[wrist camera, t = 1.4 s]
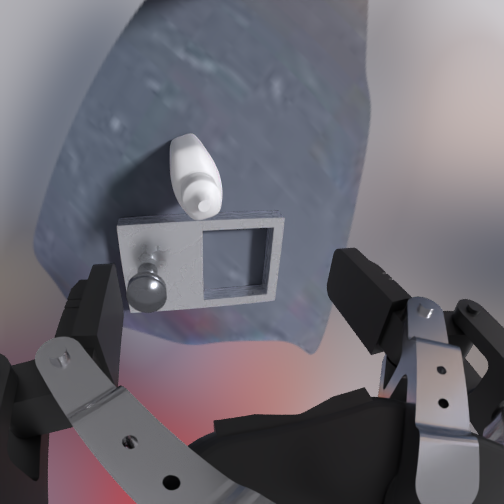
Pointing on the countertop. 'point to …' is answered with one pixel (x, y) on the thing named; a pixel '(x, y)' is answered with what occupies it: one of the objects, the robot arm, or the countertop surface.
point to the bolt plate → (189, 260)
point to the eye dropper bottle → (194, 178)
